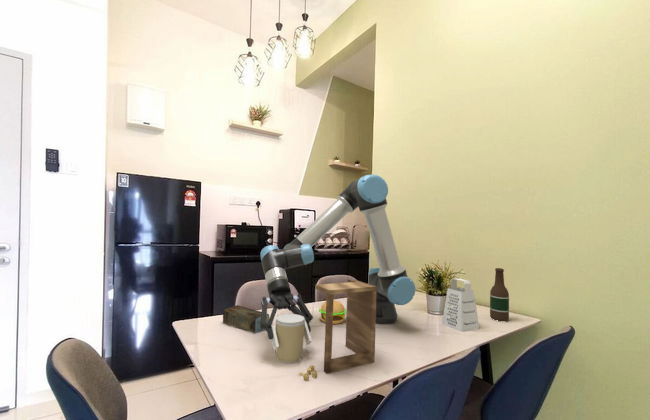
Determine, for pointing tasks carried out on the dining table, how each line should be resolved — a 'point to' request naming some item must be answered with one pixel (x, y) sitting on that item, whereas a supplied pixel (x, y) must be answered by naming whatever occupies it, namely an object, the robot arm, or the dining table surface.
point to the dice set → (309, 373)
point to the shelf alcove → (351, 324)
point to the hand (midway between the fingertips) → (293, 345)
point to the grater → (460, 307)
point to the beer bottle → (499, 298)
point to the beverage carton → (243, 318)
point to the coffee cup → (290, 337)
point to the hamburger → (334, 312)
